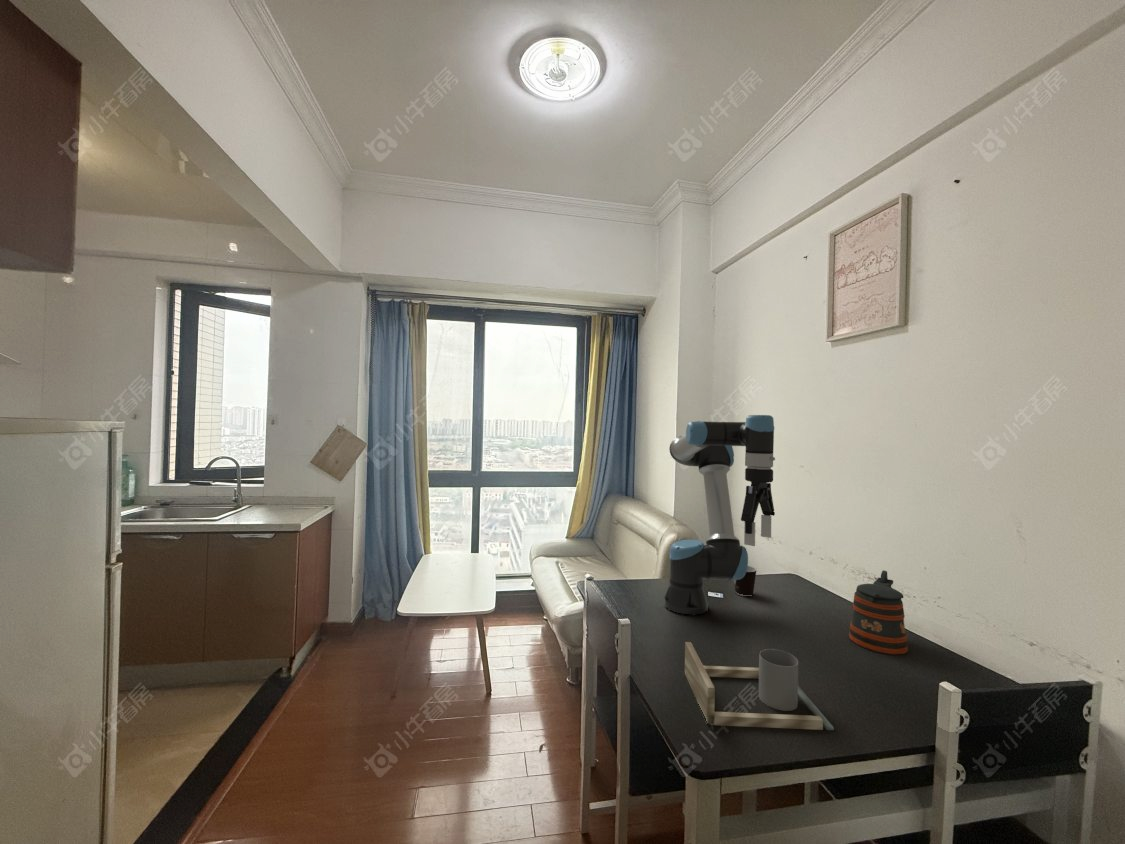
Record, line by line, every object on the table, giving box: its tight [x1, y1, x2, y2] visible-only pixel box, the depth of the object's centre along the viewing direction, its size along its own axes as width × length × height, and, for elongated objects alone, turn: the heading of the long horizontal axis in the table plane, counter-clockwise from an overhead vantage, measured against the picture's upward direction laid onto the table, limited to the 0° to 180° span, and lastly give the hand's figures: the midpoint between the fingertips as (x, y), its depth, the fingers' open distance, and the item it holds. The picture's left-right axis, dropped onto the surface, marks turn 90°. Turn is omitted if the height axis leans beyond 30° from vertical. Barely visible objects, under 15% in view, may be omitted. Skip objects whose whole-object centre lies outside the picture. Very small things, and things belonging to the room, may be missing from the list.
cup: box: [758, 648, 799, 712], centre depth 108 cm, size 8×8×10 cm
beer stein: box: [848, 570, 909, 656], centre depth 140 cm, size 19×15×20 cm
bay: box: [684, 641, 835, 731], centre depth 108 cm, size 27×21×8 cm
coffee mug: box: [733, 565, 757, 596], centre depth 179 cm, size 12×9×10 cm
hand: (758, 541), depth 132 cm, fingers open, 13 cm apart
